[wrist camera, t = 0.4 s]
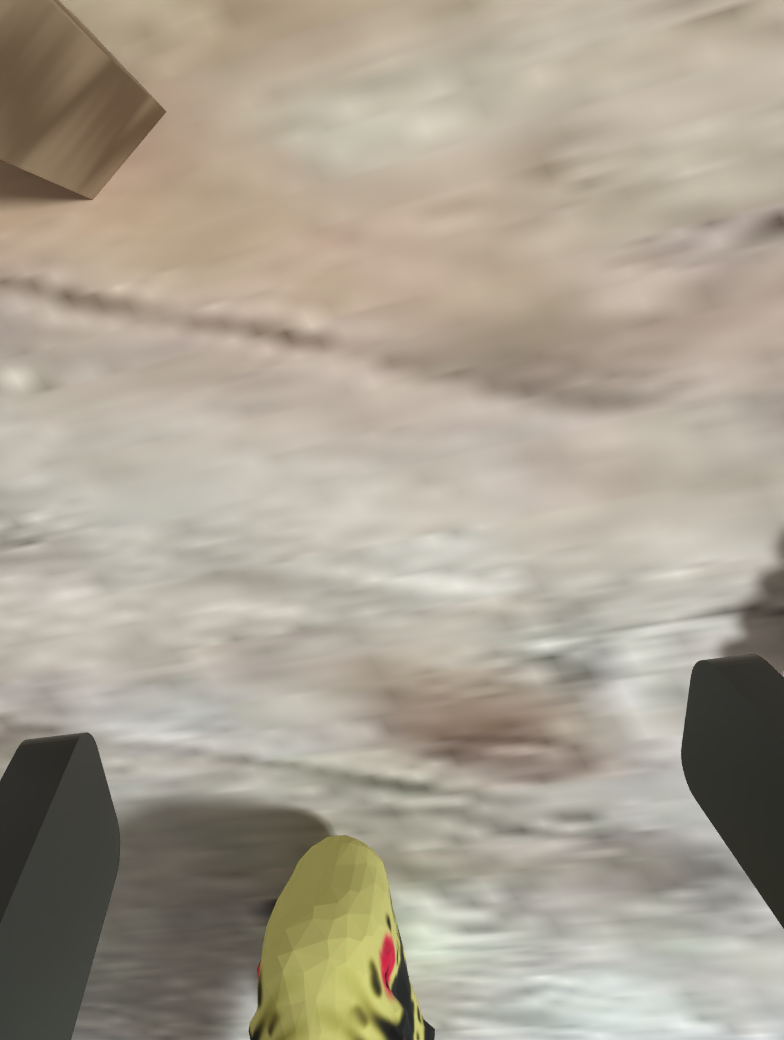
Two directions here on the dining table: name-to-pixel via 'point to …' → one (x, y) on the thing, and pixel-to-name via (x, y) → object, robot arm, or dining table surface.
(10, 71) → the walnut block
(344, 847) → the toy
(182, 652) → the dining table surface
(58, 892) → the robot arm
